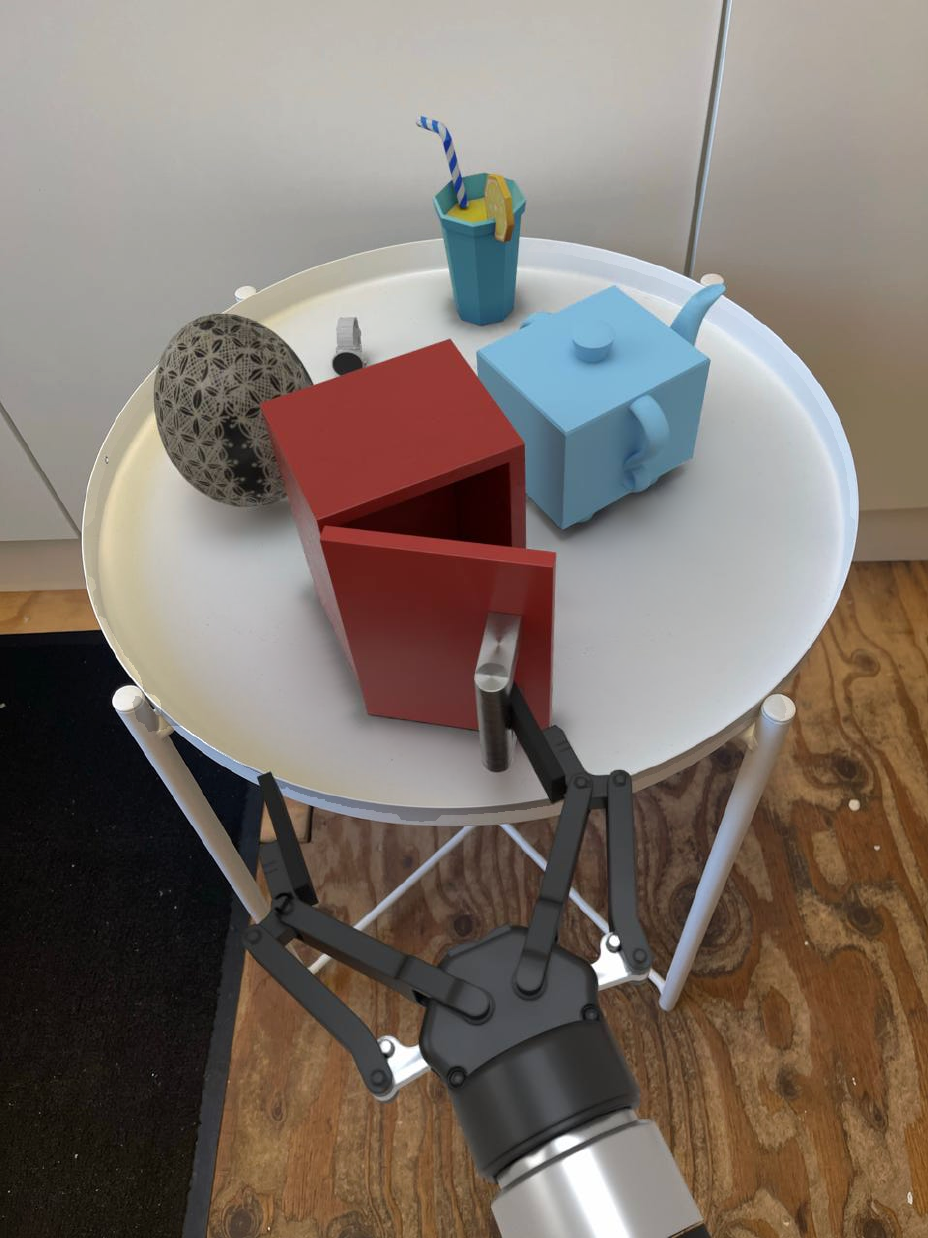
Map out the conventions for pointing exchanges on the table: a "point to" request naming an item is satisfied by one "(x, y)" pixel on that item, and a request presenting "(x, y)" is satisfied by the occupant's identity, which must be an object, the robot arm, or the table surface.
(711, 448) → the table surface
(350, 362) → the wristwatch
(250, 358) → the decorative egg
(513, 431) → the red cabinet body
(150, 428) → the table surface
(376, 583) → the cabinet door
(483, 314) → the cup
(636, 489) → the teapot
